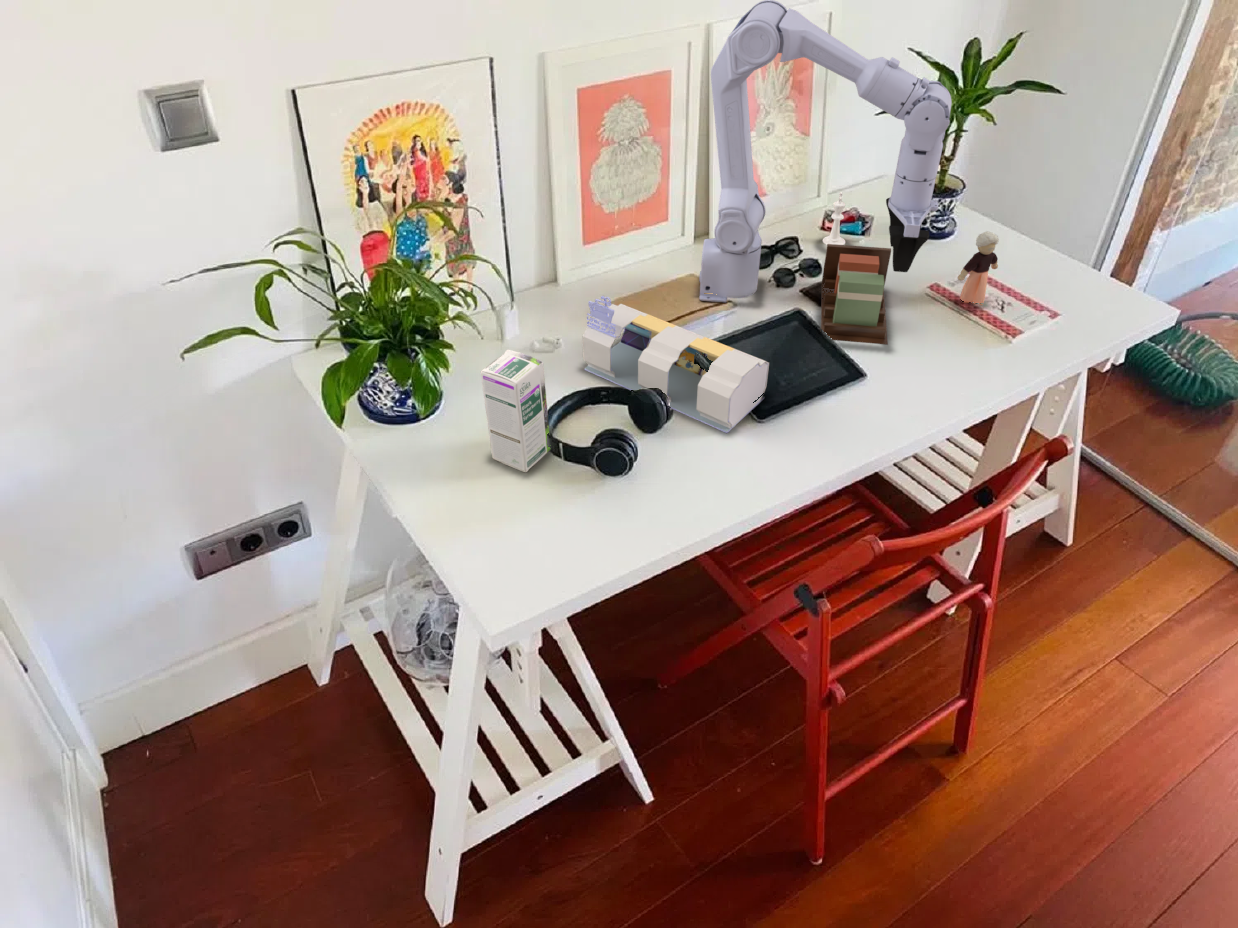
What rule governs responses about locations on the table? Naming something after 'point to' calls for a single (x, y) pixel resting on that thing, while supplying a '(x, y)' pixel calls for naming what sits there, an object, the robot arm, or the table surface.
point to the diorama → (673, 364)
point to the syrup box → (516, 409)
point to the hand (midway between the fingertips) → (898, 258)
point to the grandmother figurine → (979, 269)
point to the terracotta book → (856, 265)
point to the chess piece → (836, 224)
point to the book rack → (829, 299)
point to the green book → (858, 299)
